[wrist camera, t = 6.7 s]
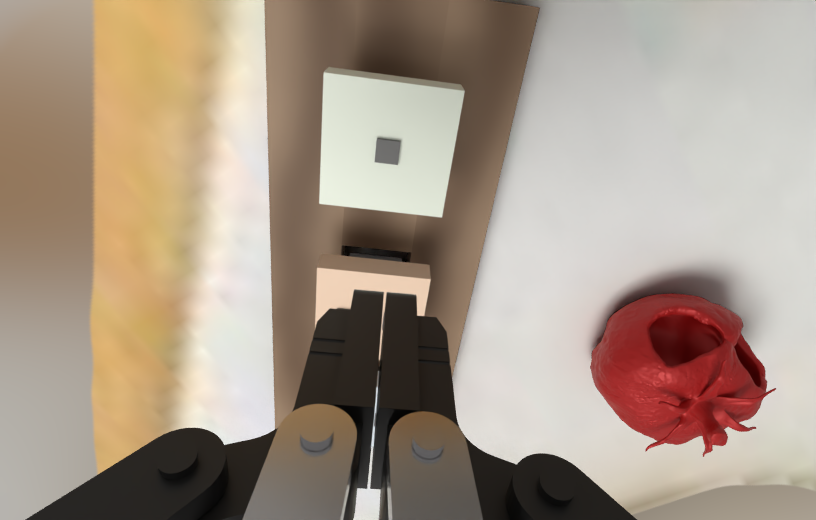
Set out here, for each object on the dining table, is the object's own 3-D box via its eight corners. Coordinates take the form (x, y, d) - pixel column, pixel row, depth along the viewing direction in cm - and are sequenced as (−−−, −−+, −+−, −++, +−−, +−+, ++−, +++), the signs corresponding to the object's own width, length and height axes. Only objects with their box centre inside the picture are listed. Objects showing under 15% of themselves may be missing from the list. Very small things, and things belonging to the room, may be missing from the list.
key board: (527, 5, 23) (539, 7, 21) (432, 423, 38) (434, 450, 36) (277, -32, 22) (263, -33, 20) (282, 411, 37) (275, 438, 35)
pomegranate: (664, 397, 37) (736, 513, 29) (553, 363, 35) (598, 476, 27) (755, 301, 32) (872, 408, 24) (632, 255, 30) (716, 354, 22)
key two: (427, 241, 27) (430, 281, 23) (414, 318, 29) (415, 366, 26) (328, 230, 26) (316, 269, 23) (324, 310, 29) (313, 357, 25)
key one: (455, 74, 22) (465, 91, 18) (436, 185, 25) (442, 219, 21) (336, 58, 22) (322, 73, 18) (331, 172, 25) (318, 205, 21)
